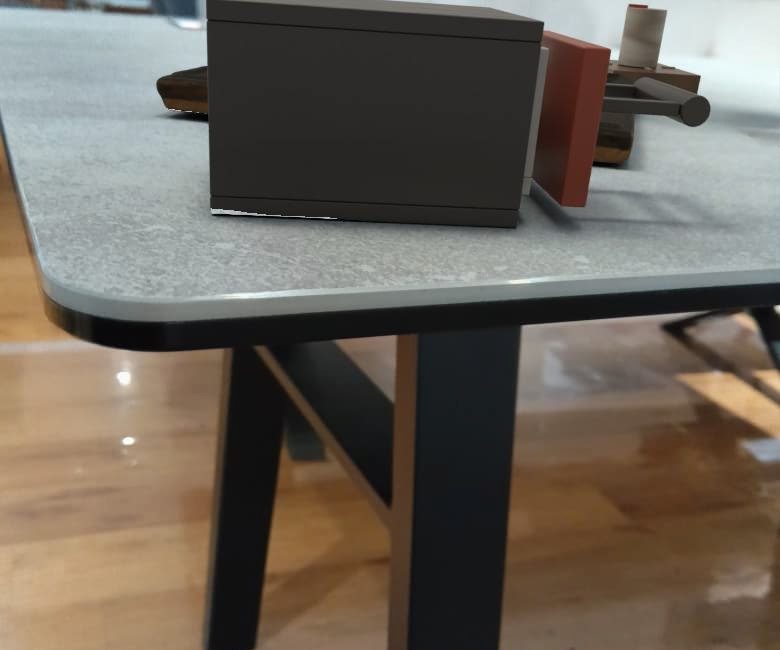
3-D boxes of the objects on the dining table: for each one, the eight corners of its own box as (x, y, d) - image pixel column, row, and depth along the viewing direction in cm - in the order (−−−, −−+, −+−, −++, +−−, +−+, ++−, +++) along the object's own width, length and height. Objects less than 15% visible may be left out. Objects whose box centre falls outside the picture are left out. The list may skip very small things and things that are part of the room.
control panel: (653, 86, 99) (657, 61, 98) (695, 101, 88) (701, 73, 87) (575, 81, 98) (579, 56, 97) (609, 96, 87) (613, 68, 86)
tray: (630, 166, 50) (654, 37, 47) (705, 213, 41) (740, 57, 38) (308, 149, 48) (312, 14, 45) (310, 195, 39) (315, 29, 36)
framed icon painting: (696, 175, 53) (706, 126, 52) (135, 124, 56) (132, 77, 55) (623, 96, 88) (628, 66, 86) (276, 67, 90) (276, 37, 89)
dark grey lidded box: (472, 172, 50) (490, 7, 46) (517, 228, 40) (545, 21, 36) (229, 160, 49) (227, -12, 45) (210, 214, 38) (205, -3, 34)
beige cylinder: (649, 64, 94) (660, 5, 92) (662, 68, 91) (673, 7, 88) (613, 62, 94) (622, 2, 91) (624, 66, 90) (634, 4, 88)
